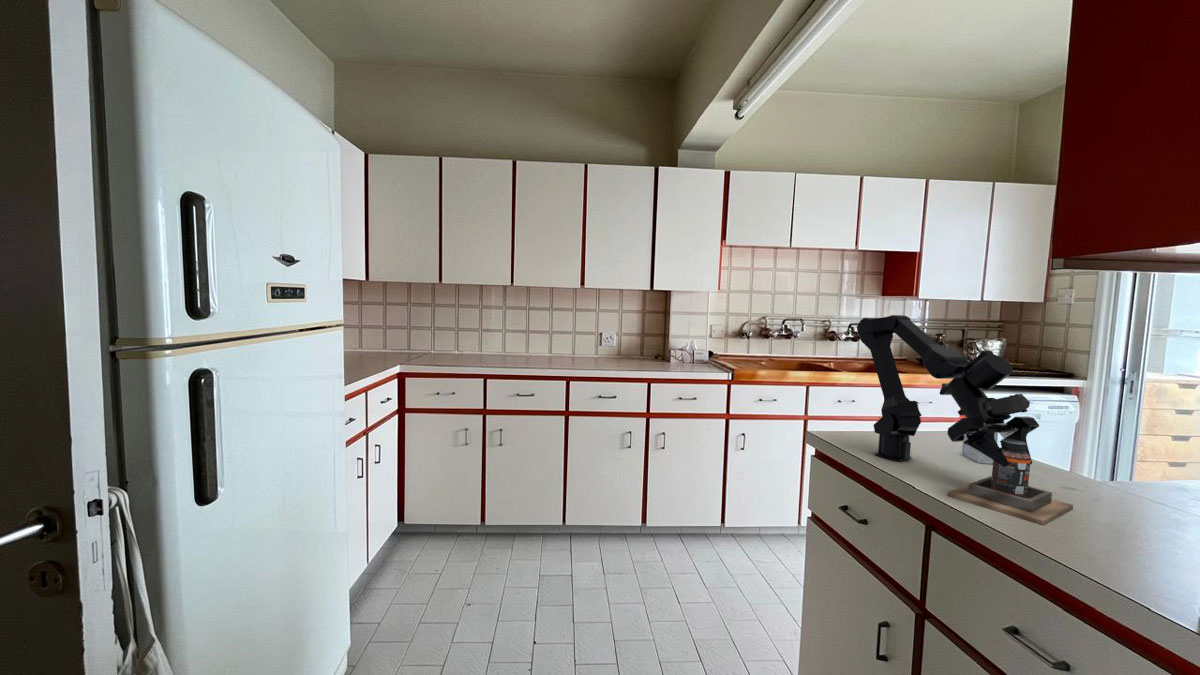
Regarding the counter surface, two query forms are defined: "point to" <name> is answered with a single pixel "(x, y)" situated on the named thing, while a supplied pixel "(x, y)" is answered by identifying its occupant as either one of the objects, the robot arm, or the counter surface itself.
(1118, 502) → the counter surface
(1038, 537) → the counter surface
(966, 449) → the medicine box
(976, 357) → the robot arm
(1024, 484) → the supplement bottle
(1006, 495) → the socket board
